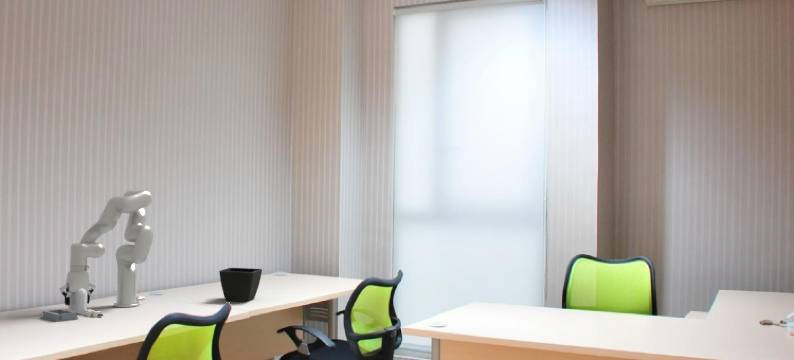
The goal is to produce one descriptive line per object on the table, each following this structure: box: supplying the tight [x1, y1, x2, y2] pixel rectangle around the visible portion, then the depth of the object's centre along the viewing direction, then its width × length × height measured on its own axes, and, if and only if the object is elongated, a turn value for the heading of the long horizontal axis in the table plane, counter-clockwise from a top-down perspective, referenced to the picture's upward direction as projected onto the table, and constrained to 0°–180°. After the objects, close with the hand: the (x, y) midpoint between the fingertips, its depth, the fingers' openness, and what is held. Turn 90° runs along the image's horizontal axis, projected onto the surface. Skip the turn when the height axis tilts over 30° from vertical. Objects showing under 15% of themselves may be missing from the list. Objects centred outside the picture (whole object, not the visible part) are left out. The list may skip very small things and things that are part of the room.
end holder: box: [41, 308, 79, 323], centre depth 335 cm, size 10×15×3 cm, turn 51°
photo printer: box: [67, 288, 88, 315], centre depth 351 cm, size 10×4×12 cm, turn 60°
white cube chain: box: [83, 308, 104, 318], centre depth 344 cm, size 4×13×2 cm, turn 51°
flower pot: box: [218, 267, 263, 303], centre depth 401 cm, size 19×19×17 cm
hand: (77, 304), depth 351 cm, fingers open, 9 cm apart
